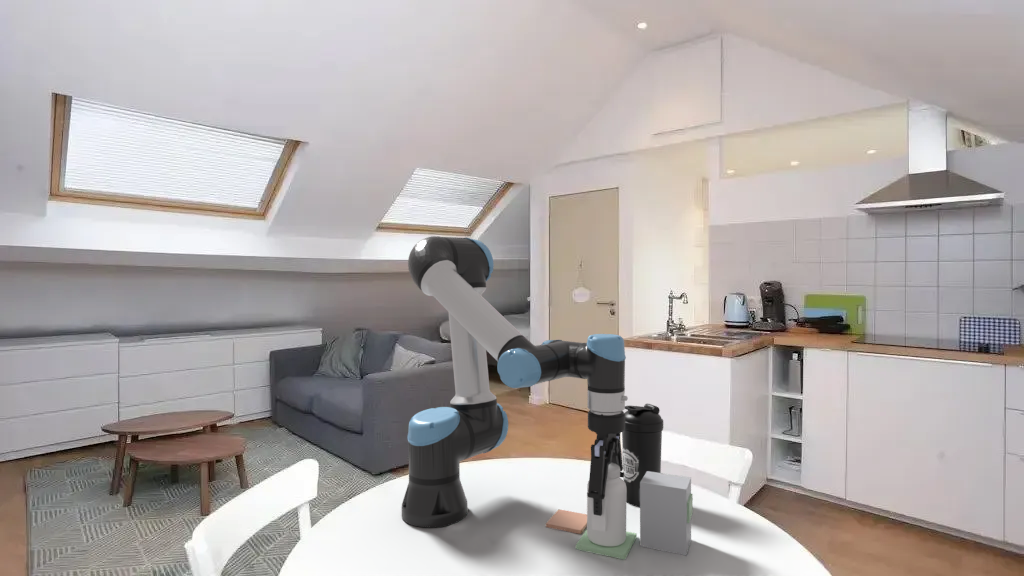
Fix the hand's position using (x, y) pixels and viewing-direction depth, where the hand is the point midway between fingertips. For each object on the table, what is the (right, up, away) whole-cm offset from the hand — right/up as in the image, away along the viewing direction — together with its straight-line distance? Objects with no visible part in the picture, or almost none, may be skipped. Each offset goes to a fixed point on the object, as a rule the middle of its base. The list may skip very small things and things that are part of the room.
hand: (606, 518), depth 113 cm
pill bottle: (0, -4, 0) cm, 4 cm away
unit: (+12, -5, 0) cm, 13 cm away
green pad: (0, -5, 0) cm, 5 cm away
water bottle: (+12, -5, +21) cm, 25 cm away
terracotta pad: (-7, -5, +9) cm, 12 cm away
